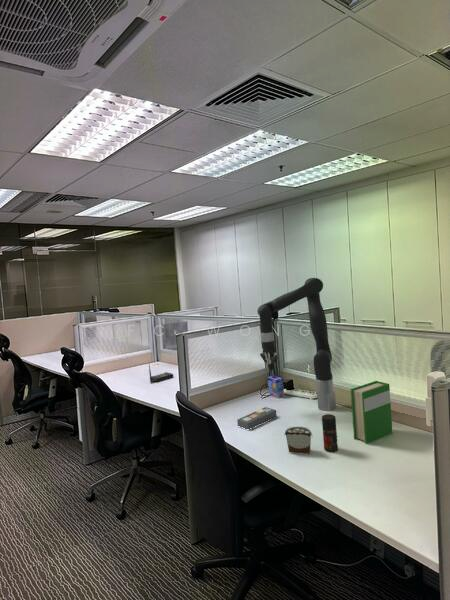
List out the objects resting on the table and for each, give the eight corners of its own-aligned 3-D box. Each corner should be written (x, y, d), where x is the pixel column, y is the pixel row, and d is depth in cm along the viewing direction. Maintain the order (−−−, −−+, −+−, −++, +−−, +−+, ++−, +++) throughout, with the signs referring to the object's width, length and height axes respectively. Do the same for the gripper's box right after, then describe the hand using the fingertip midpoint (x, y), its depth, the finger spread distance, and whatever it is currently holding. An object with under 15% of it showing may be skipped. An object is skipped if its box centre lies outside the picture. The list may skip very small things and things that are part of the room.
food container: (315, 448, 176) (313, 426, 175) (313, 454, 170) (311, 432, 169) (288, 446, 180) (286, 425, 179) (285, 452, 174) (284, 431, 173)
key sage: (252, 424, 206) (252, 418, 206) (247, 426, 204) (246, 421, 203) (247, 422, 209) (246, 416, 209) (242, 424, 207) (241, 419, 206)
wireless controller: (165, 376, 327) (163, 356, 326) (174, 378, 317) (172, 358, 316) (144, 382, 314) (142, 361, 313) (153, 385, 304) (151, 363, 303)
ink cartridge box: (268, 395, 254) (266, 373, 253) (275, 393, 257) (273, 371, 256) (277, 398, 245) (275, 376, 244) (284, 396, 248) (282, 374, 247)
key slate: (272, 415, 216) (271, 409, 216) (267, 417, 214) (266, 412, 214) (266, 413, 219) (266, 408, 219) (262, 415, 217) (261, 410, 217)
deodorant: (322, 446, 176) (320, 414, 175) (335, 445, 176) (333, 413, 175) (325, 452, 170) (323, 419, 169) (339, 451, 170) (337, 418, 169)
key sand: (265, 415, 213) (265, 410, 213) (260, 417, 210) (260, 412, 210) (260, 413, 216) (259, 408, 216) (255, 416, 213) (254, 410, 213)
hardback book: (366, 444, 175) (363, 392, 173) (354, 438, 181) (350, 389, 179) (392, 433, 183) (389, 383, 181) (379, 428, 190) (376, 380, 188)
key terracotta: (259, 420, 210) (258, 415, 209) (254, 423, 207) (253, 417, 207) (254, 419, 213) (253, 414, 212) (248, 421, 210) (248, 416, 210)
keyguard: (276, 416, 216) (276, 409, 216) (248, 430, 201) (247, 423, 201) (266, 413, 222) (265, 406, 222) (237, 426, 207) (237, 419, 207)
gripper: (281, 339, 216) (284, 369, 217) (263, 338, 226) (266, 367, 227) (272, 341, 211) (276, 372, 212) (254, 341, 221) (258, 370, 222)
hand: (271, 370), depth 220 cm, fingers closed
